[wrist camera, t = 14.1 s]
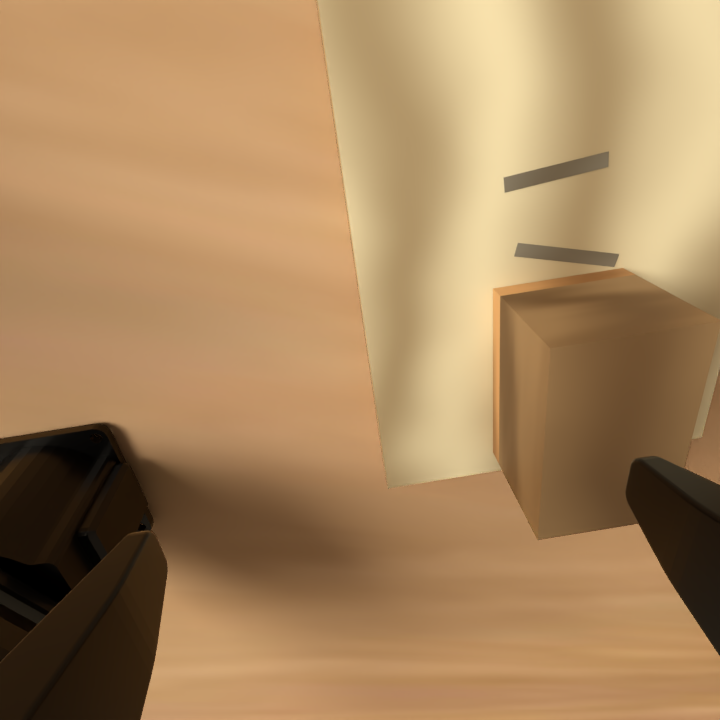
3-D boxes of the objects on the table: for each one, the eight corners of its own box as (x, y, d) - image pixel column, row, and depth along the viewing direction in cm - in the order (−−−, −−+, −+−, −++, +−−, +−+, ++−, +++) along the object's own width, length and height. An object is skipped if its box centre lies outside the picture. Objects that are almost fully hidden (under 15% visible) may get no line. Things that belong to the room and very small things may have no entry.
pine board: (383, 467, 24) (388, 489, 22) (296, -138, 13) (294, -165, 12) (680, 419, 24) (702, 438, 23) (825, -218, 13) (882, -253, 12)
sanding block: (492, 452, 22) (537, 540, 18) (492, 288, 18) (550, 348, 14) (600, 435, 22) (671, 518, 18) (622, 267, 18) (721, 320, 14)
